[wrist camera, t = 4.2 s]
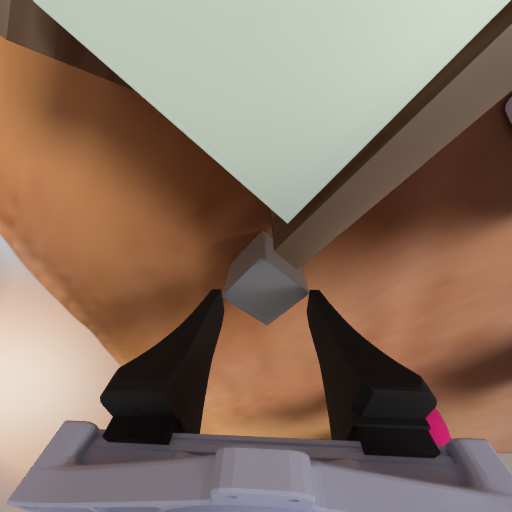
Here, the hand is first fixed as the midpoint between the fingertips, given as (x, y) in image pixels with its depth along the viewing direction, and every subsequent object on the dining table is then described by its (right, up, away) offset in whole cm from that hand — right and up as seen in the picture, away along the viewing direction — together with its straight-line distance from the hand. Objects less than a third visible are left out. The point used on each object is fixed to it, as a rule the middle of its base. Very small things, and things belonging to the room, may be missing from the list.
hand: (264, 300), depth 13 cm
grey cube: (0, +3, +4) cm, 5 cm away
